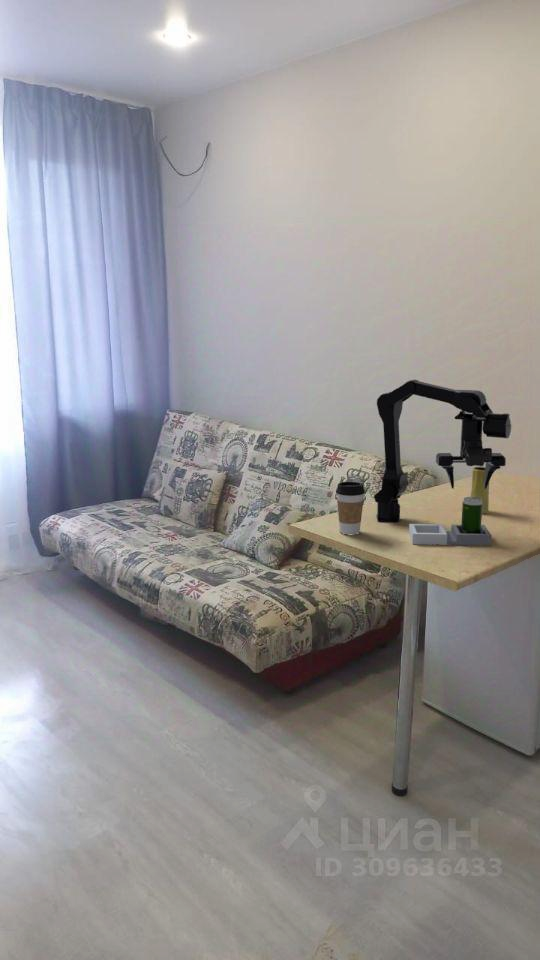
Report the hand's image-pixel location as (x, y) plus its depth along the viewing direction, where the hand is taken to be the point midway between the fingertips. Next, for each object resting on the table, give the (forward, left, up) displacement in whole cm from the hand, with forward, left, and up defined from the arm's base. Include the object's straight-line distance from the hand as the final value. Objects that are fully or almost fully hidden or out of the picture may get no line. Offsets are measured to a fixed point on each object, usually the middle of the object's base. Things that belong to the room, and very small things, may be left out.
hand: (468, 488), depth 203 cm
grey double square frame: (-6, -7, -13) cm, 16 cm away
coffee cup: (-34, -2, -13) cm, 37 cm away
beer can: (0, -7, -13) cm, 15 cm away
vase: (+8, +22, -13) cm, 27 cm away
